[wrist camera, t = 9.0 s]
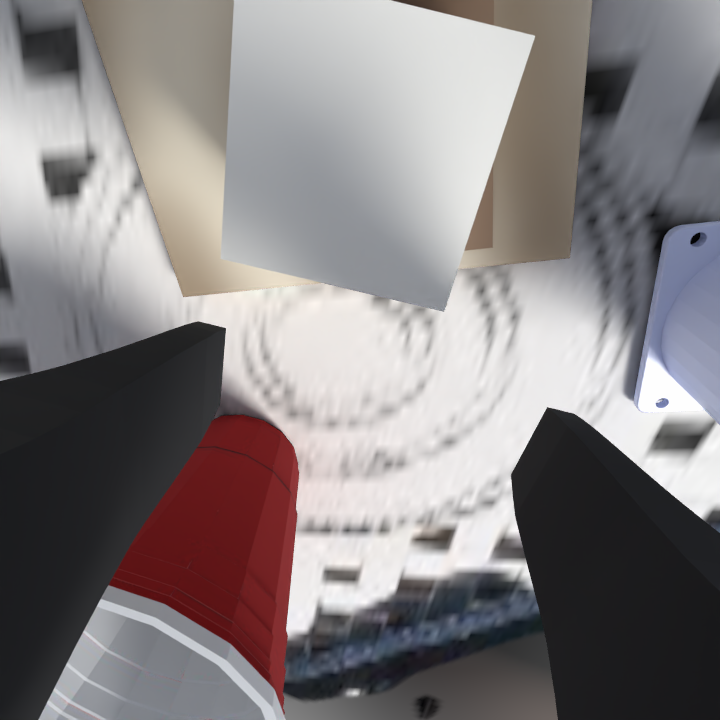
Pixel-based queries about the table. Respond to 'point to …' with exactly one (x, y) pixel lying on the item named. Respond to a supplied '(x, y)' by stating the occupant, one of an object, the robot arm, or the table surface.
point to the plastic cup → (197, 594)
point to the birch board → (210, 120)
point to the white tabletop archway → (362, 140)
